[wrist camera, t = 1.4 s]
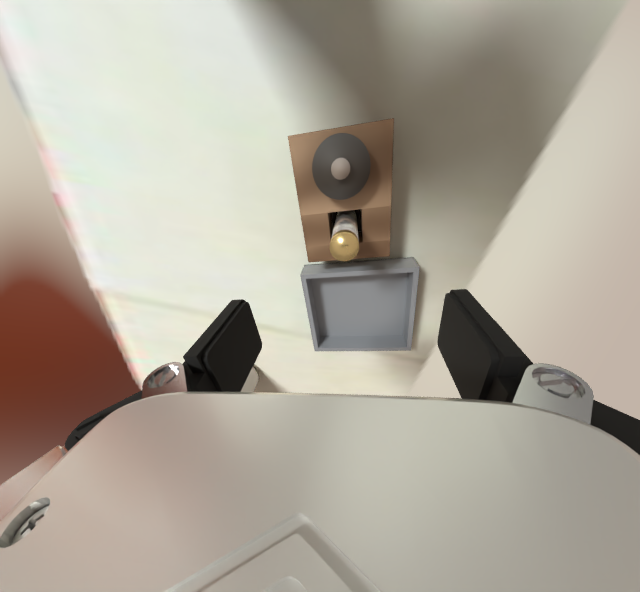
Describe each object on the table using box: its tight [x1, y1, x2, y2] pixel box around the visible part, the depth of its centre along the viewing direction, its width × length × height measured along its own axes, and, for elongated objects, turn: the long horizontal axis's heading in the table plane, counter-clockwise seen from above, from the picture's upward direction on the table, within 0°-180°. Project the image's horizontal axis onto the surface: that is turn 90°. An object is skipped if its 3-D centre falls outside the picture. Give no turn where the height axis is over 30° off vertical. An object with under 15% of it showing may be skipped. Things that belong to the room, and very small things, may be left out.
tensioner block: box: [288, 118, 394, 262], centre depth 23 cm, size 12×9×6 cm
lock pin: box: [330, 210, 359, 261], centre depth 23 cm, size 2×2×10 cm
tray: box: [301, 257, 420, 351], centre depth 32 cm, size 13×14×3 cm
